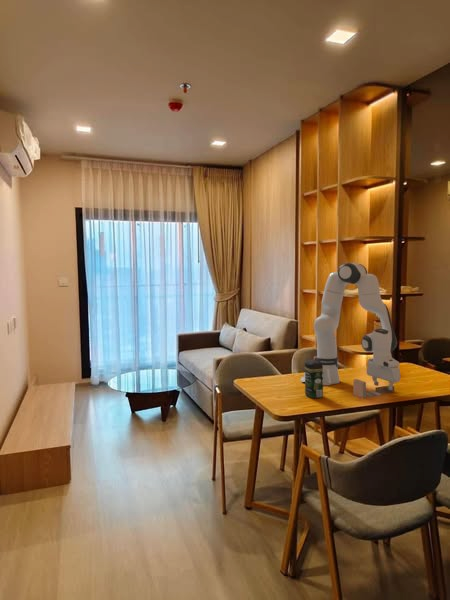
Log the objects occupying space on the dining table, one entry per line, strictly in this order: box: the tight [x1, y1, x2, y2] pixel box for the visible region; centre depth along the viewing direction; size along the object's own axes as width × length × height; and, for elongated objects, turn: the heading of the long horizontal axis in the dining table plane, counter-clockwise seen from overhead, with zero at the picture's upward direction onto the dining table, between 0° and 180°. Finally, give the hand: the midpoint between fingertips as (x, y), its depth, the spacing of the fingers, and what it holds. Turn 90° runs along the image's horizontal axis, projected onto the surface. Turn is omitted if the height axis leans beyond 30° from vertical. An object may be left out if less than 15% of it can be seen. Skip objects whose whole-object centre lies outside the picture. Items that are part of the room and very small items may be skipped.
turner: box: [366, 385, 395, 398], centre depth 209 cm, size 17×6×3 cm, turn 111°
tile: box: [352, 378, 367, 400], centre depth 205 cm, size 2×7×8 cm, turn 21°
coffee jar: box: [304, 359, 324, 399], centre depth 207 cm, size 10×8×19 cm
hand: (383, 387), depth 210 cm, fingers open, 8 cm apart
